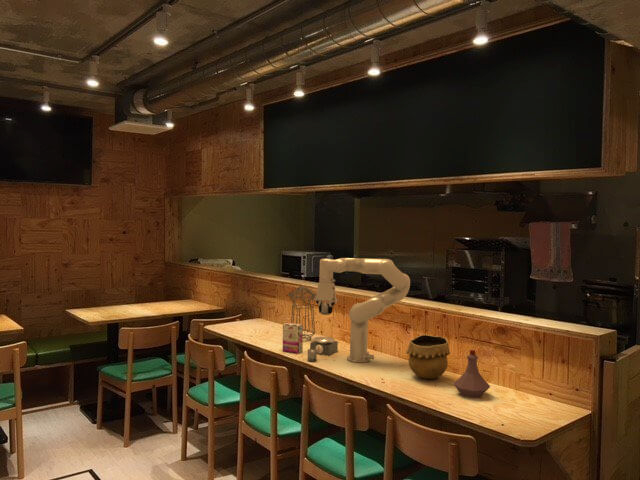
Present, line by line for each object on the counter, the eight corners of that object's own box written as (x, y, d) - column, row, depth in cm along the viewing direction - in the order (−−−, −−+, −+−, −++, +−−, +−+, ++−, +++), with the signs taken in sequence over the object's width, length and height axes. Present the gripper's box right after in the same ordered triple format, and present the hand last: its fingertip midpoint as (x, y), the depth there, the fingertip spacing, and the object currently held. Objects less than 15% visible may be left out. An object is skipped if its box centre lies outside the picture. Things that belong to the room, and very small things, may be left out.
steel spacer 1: (318, 360, 291) (318, 349, 291) (313, 362, 286) (314, 351, 286) (310, 359, 293) (310, 348, 293) (305, 361, 289) (306, 350, 288)
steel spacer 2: (331, 313, 298) (331, 303, 297) (327, 315, 293) (328, 304, 293) (323, 312, 300) (323, 302, 299) (319, 314, 295) (319, 303, 295)
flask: (474, 403, 227) (476, 357, 226) (444, 392, 240) (446, 349, 240) (498, 396, 237) (499, 352, 236) (468, 386, 250) (469, 344, 249)
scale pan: (337, 340, 312) (337, 338, 312) (328, 344, 301) (328, 342, 301) (319, 337, 317) (319, 335, 317) (310, 341, 306) (310, 339, 306)
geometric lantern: (318, 341, 336) (319, 287, 334) (295, 344, 329) (295, 288, 327) (308, 336, 350) (308, 283, 348) (286, 338, 343) (286, 285, 341)
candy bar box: (302, 352, 308) (303, 324, 308) (298, 354, 304) (299, 325, 303) (286, 349, 313) (287, 322, 313) (282, 351, 309) (282, 323, 308)
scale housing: (337, 351, 312) (337, 341, 312) (328, 356, 301) (328, 345, 300) (319, 348, 317) (319, 338, 317) (309, 353, 306) (309, 342, 306)
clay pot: (436, 387, 247) (437, 345, 246) (397, 378, 261) (398, 338, 260) (457, 378, 263) (458, 338, 262) (419, 369, 277) (420, 331, 276)
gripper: (342, 281, 296) (342, 313, 296) (315, 279, 303) (314, 310, 303) (337, 282, 289) (336, 315, 289) (309, 280, 296) (308, 312, 296)
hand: (325, 312), depth 296 cm, fingers closed on steel spacer 2, 5 cm apart
